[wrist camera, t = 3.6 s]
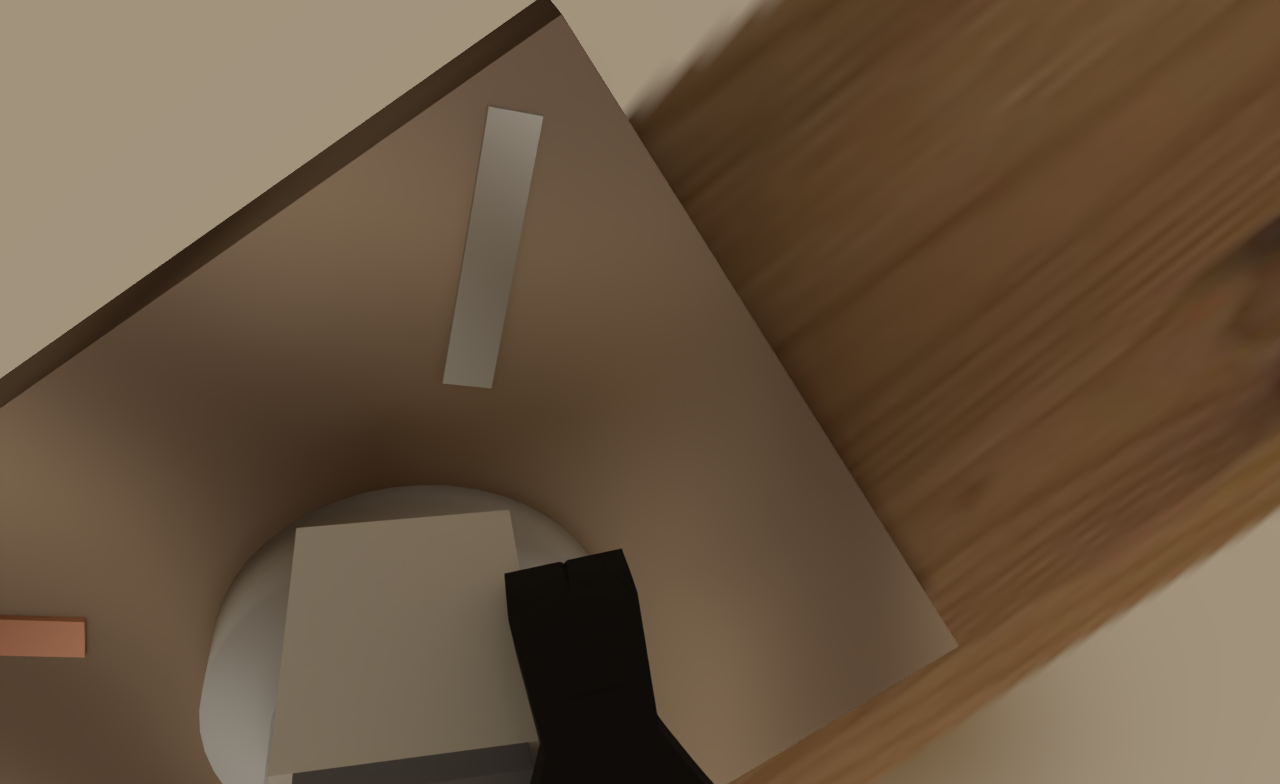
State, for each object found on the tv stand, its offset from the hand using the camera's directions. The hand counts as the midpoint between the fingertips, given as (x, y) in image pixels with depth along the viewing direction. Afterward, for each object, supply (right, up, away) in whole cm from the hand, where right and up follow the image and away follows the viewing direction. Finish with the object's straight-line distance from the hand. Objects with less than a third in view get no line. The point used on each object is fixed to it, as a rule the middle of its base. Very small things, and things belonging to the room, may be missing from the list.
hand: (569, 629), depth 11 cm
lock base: (-3, -1, +7) cm, 8 cm away
